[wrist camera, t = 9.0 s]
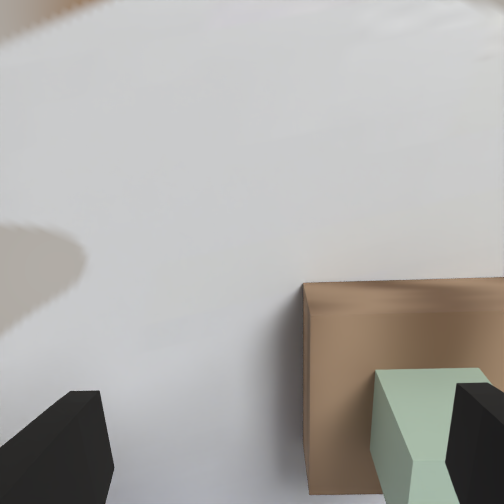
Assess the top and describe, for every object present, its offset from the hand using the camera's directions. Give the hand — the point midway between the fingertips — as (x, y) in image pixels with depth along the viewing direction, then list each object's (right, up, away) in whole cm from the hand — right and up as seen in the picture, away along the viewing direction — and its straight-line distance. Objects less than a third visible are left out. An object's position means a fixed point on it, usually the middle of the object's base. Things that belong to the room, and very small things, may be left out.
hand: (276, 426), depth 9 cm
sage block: (+6, -3, +9) cm, 11 cm away
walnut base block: (+6, -2, +12) cm, 13 cm away
